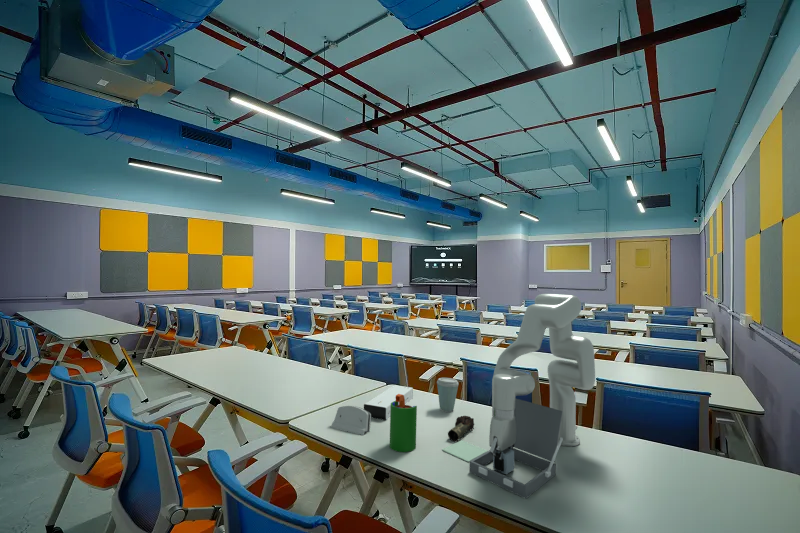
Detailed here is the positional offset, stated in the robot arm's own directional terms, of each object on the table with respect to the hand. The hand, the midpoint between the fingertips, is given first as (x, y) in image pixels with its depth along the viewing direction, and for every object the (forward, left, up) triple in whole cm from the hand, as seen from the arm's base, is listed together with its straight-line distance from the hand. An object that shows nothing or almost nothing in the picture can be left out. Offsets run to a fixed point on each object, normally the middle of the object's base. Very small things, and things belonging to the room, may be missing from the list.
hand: (503, 466), depth 125 cm
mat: (-1, -17, -1) cm, 17 cm away
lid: (-14, +3, +10) cm, 17 cm away
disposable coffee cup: (-30, -49, -2) cm, 58 cm away
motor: (+14, -35, -2) cm, 38 cm away
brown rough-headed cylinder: (-14, -28, -2) cm, 31 cm away
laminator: (-12, -71, -2) cm, 72 cm away
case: (-2, +4, -1) cm, 4 cm away
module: (0, 0, -1) cm, 1 cm away
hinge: (+17, -62, -2) cm, 64 cm away
